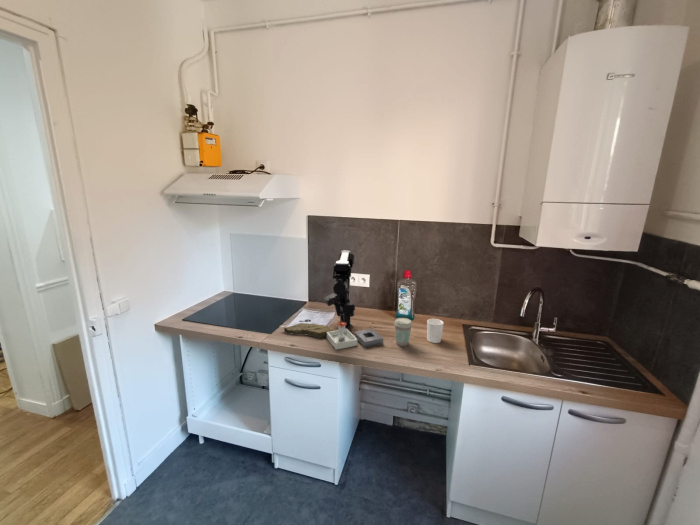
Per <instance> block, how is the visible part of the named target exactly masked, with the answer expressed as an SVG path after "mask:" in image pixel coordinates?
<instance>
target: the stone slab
mask: <svg viewBox="0 0 700 525" xmlns="http://www.w3.org/2000/svg"><path fill="white" fill-rule="evenodd" d="M282 329H284V333H286V332H287V333H286V334H289V333H293V334H294V335H295V334H303V335H304V334H308V335H307V336H310V335H311V336H312V337H313V336H314V338H318V339H321V338H327V332H331V331H333V330H332V329H331V328H330V327H329V326H328V325H325V324H319V323H304V322H301V323H297V324H293V325H290V326H286V327H282ZM293 334H292V335H293ZM311 336H310V337H311Z"/></svg>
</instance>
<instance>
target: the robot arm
mask: <svg viewBox="0 0 700 525" xmlns="http://www.w3.org/2000/svg"><path fill="white" fill-rule="evenodd" d="M355 264H356V263H355V255H354V254H353V253H352V252H351V251H350V250H341V251H340V253H339V254H338V260H336V262H335V264H333V274H332V279H335V283H334V285H333V287H332V288H333V289H332V290H333V293H330V294H328V295H326V296H325V297H323V300H324V302H325V305H327V306H328V307H331V306H332V305H334V309H335V312H336V315H337V317H339V320H340V321H344V323H346V326H345V329H348V328H353V324H352V323H351V318H353V317H354V316H355V311H356V305H355V304H353V302H352V301H351V299H350V288H351V287H350V286H351V277H352V270H353V268H354V265H355Z"/></svg>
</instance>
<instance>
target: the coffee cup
mask: <svg viewBox="0 0 700 525" xmlns="http://www.w3.org/2000/svg"><path fill="white" fill-rule="evenodd" d="M393 324H394V329H395V342H396V345H398V346H400V347H406V346H408V345H409V341H410V337H411V336H410V335H411V330H412V326H413V323H412V320H411V319H409V318H407V317H398V318H396V319H395V321H394V323H393Z"/></svg>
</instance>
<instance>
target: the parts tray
mask: <svg viewBox="0 0 700 525" xmlns="http://www.w3.org/2000/svg"><path fill="white" fill-rule="evenodd" d="M326 339H327V340H328V341H329V343H330V344H331V346H332V347H333V348H334V349H335V350H341V349H346V348H351V347H356V346H358V340H357V339H356V337H355V334H352V332H351V331H350V330H349V329H348V328H345V341H344V342H339V341H338V329H337V330H332V331H331V332H327V337H326Z"/></svg>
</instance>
